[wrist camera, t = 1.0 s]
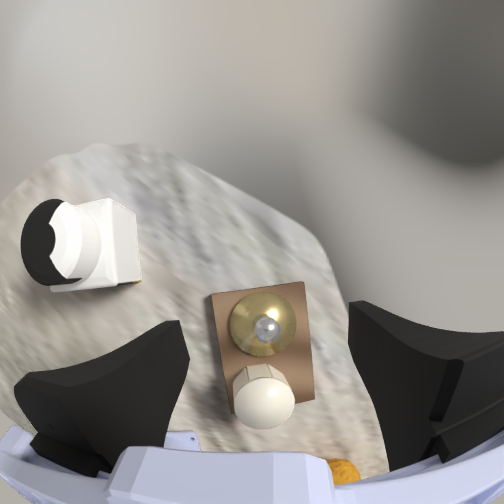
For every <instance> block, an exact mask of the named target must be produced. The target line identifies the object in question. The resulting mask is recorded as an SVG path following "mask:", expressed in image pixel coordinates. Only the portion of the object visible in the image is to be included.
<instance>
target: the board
mask: <svg viewBox="0 0 504 504" xmlns="http://www.w3.org/2000/svg"><path fill="white" fill-rule="evenodd" d="M262 291H265V292H272V293H275V294H278V295H280V296H281V297H283V298H284V299H286V300H287V301H288V302H289V303H290V305H291V306H292V308H293V310H294V312H295V315H296V320H297V326H296V331H295V334H294V337H293V339H292V341H291V342H290V343H289V345H288V346H287V347H286V348H284V349H283V350H282V351H280V352H279V353H277V354H274V355H271V356H264V357H260V356H254V355H251V354H248V353H246V352H245V351H243V350H242V349H240V348H239V347H238V345H237V344H236V343H235V341H234V340H233V338H232V335H231V331H230V319H231V315H232V312H233V310H234V308H235V307H236V305H237V304H238V303H239V302H240V301H241V300H242V299H243V298H244V297H246V296H248V295H250V294H252V293H255V292H262ZM212 302H213V309H214V316H215V322H216V329H217V335H218V342H219V348H220V354H221V360H222V366H223V371H224V377H225V383H226V388H227V393H228V399H229V404H230V409H231V414H235V410H234V395H233V381H234V380H235V379H236V377H237V376H238V375H239V374H240V373H241V371H242V370H243V369H244V368H246V369H247V366H253V365H260V364H266V365H268V364H269V365H270V366H272V367H273V368H275V369H276V370H278V371H279V372H281V373H283V375H284V377H285V378H286V380H287V382H288V384H289V386H290V387H291V391H292V393H293V395H294V399H295V404H296V403H301V402H305V401H310V400H314V399H315V393H314V378H313V365H312V353H311V342H310V331H309V321H308V311H307V302H306V293H305V285H304V282H302V281H300V282H294V283H287V284H280V285H273V286H266V287H259V288H252V289H244V290H237V291H229V292H221V293H213V294H212Z"/></svg>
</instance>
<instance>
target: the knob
mask: <svg viewBox="0 0 504 504" xmlns="http://www.w3.org/2000/svg"><path fill="white" fill-rule="evenodd" d="M296 326H297V320H296V315H295V312H294V310H293V308H292V306H291V305H290V303H289V302H288V301H287V300H286V299H284V298H283V297H281V296H280V295H278V294H275V293H272V292H265V291H262V292H255V293H252V294H250V295H248V296H246V297H244V298H243V299H242V300H241V301H240V302H239V303H238V304H237V305H236V307H235V308H234V310H233V312H232V315H231V319H230V331H231V335H232V338H233V340H234V341H235V343H236V344H237V345H238V347H239V348H240V349H242V350H243V351H245V352H246V353H248V354H251V355H254V356H260V357H264V356H271V355H274V354H277V353H279V352H280V351H282V350H283V349H284V348H286V347H287V346H288V345H289V343H290V342H291V341H292V339H293V337H294V334H295V331H296Z"/></svg>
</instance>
